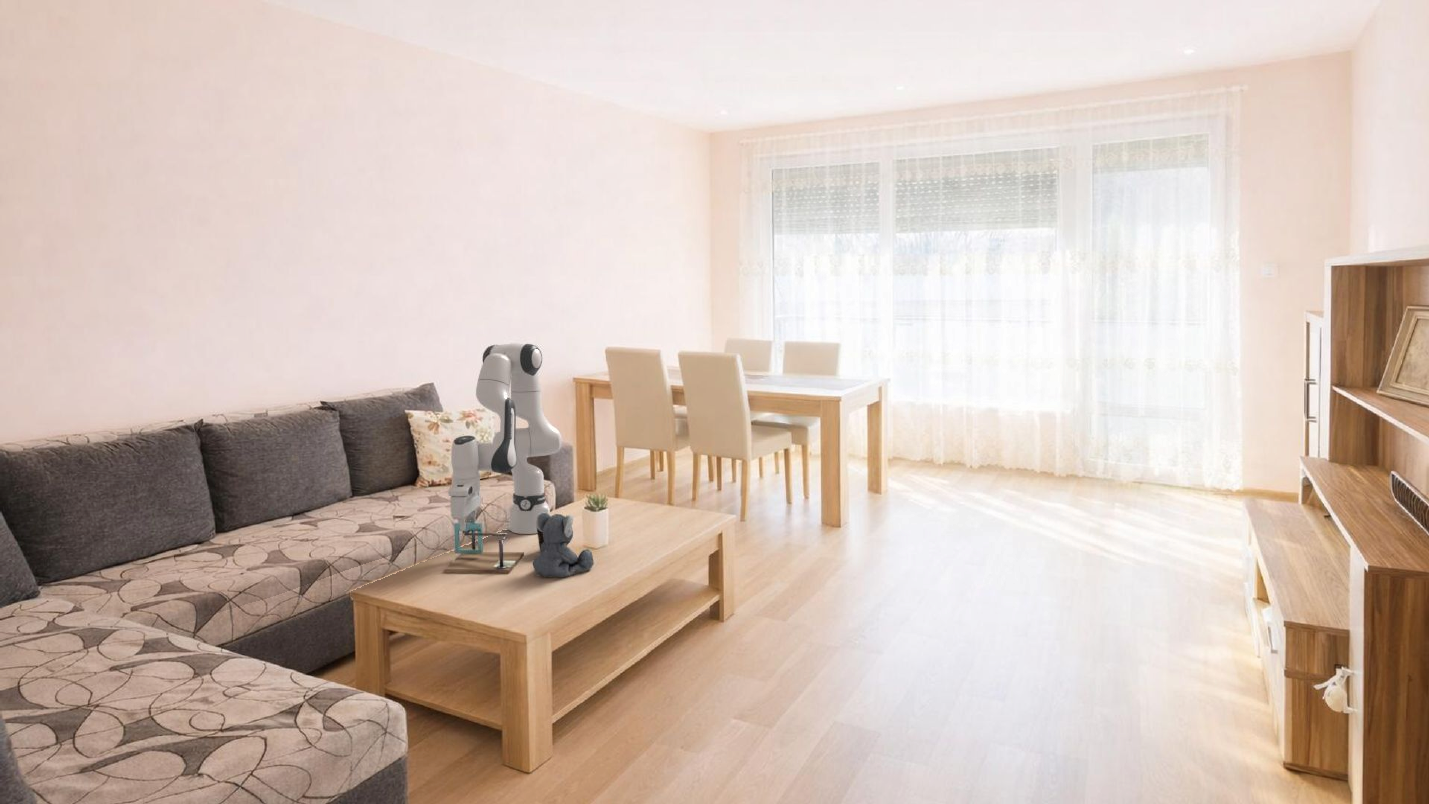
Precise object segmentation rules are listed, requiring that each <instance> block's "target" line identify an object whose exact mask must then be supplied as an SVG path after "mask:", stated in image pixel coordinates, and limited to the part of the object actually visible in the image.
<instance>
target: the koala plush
mask: <svg viewBox="0 0 1429 804" xmlns="http://www.w3.org/2000/svg"><path fill="white" fill-rule="evenodd" d="M536 517H537V519H536V527H537V529H539V530H540V531H541V532H543V538H544V542H543V543H542V544H541V547H540V548H539V553H538V555H537V556H535V557H534V559H533V561H532V567H533V569H534V572H535V575H536V576H537V577H538V576H539V577H541V578H548V579H549V578H552V577H555V578H559V579H560V578H565V577H571V576H572V575H573V574H580V573H581V574H582V573H584V572H585V573H586V572H587V571H589V570H590V569H592V568H593V566H594V565H595V563H594V557H593V551H592V550H591V549H588V548H586V549H583V550H581V552H579V555H577V553H575V552H574V551H573V550H572V549H571V548H570V547H569V546H568V545H569V544H570V543H571V541H572V539H573V537H574V529H573V523H574V515H571V514H570V515H566V516H565V515H563V514H561V513H554V514H553V515H551V514H550V515H549V514H548V513H545V512H542V513H539V514H538V515H537V516H536Z"/></svg>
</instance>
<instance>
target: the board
mask: <svg viewBox="0 0 1429 804" xmlns="http://www.w3.org/2000/svg"><path fill="white" fill-rule="evenodd" d="M524 557H525V552H523V551H503V565H506V568H505V569H497V566H499V565H500V560H499V551H483V553H482V554H459V555H458V556H456V558H455V559H454V560H453V561H452V562H451V563H449V564H448V565H447V566H446V567H445V568H444V573H447V574H448V573H450V574H452V573H453V574H455V573H456V574H509V575H510V573H511V572H512V571H513V570H514V568H515V567H516V566H517V565H518V564H519V562H520V561H521V560H522V559H523V558H524Z"/></svg>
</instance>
